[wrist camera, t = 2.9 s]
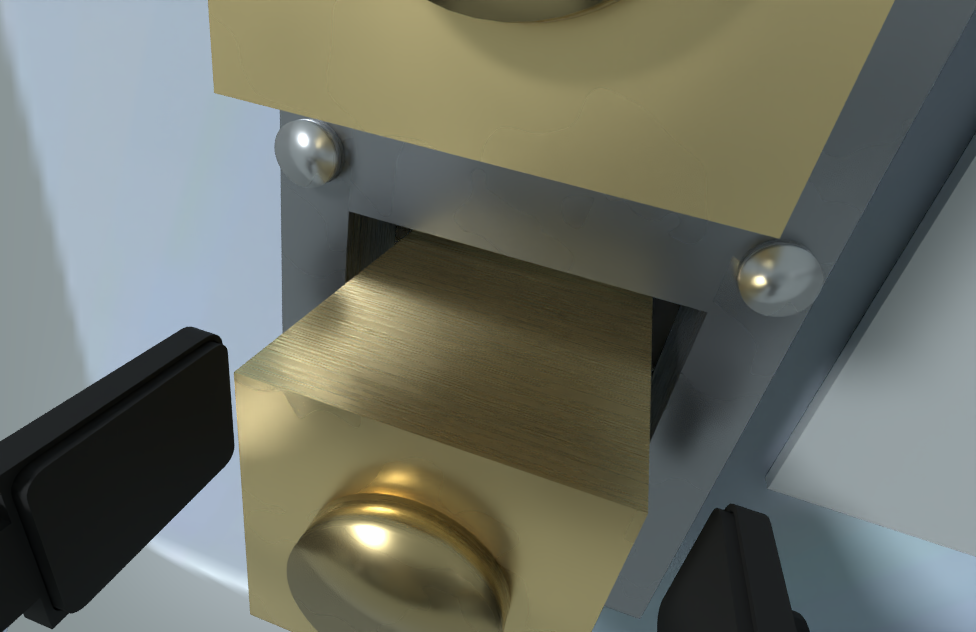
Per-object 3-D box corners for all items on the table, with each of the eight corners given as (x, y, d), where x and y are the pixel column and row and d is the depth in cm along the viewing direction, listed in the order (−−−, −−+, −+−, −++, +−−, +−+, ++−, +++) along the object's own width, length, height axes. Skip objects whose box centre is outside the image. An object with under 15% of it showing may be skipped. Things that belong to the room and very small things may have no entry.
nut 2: (652, 281, 12) (646, 556, 6) (587, 456, 15) (534, 777, 9) (427, 218, 13) (200, 398, 7) (404, 395, 16) (228, 646, 9)
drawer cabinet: (1159, -513, 6) (1483, -868, 4) (642, 539, 16) (639, 634, 13) (375, -552, 8) (244, -823, 5) (330, 430, 17) (275, 496, 15)
